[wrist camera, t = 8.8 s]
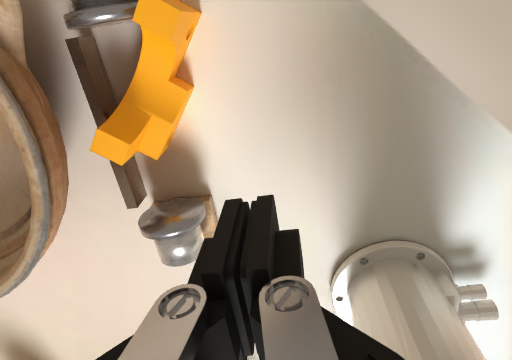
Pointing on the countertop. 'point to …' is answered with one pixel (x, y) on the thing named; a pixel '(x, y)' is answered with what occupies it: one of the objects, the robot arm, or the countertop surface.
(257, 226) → the robot arm
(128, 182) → the pipe run
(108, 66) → the countertop surface
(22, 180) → the ceramic bowl
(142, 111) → the pipe clamp
